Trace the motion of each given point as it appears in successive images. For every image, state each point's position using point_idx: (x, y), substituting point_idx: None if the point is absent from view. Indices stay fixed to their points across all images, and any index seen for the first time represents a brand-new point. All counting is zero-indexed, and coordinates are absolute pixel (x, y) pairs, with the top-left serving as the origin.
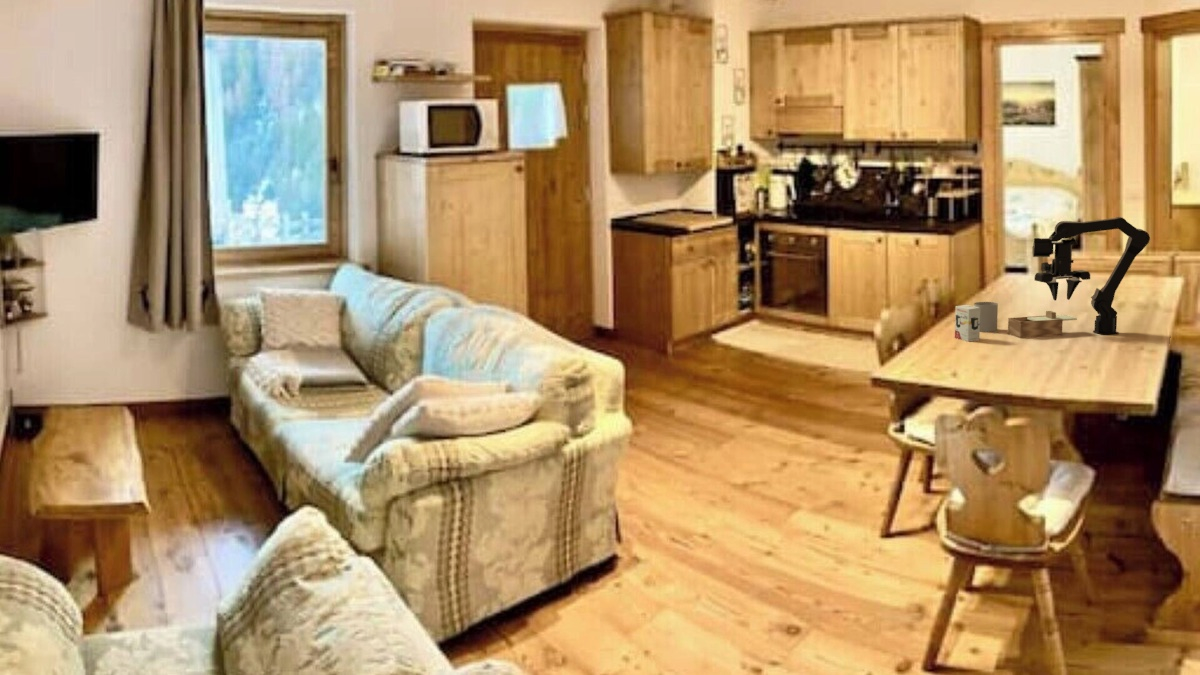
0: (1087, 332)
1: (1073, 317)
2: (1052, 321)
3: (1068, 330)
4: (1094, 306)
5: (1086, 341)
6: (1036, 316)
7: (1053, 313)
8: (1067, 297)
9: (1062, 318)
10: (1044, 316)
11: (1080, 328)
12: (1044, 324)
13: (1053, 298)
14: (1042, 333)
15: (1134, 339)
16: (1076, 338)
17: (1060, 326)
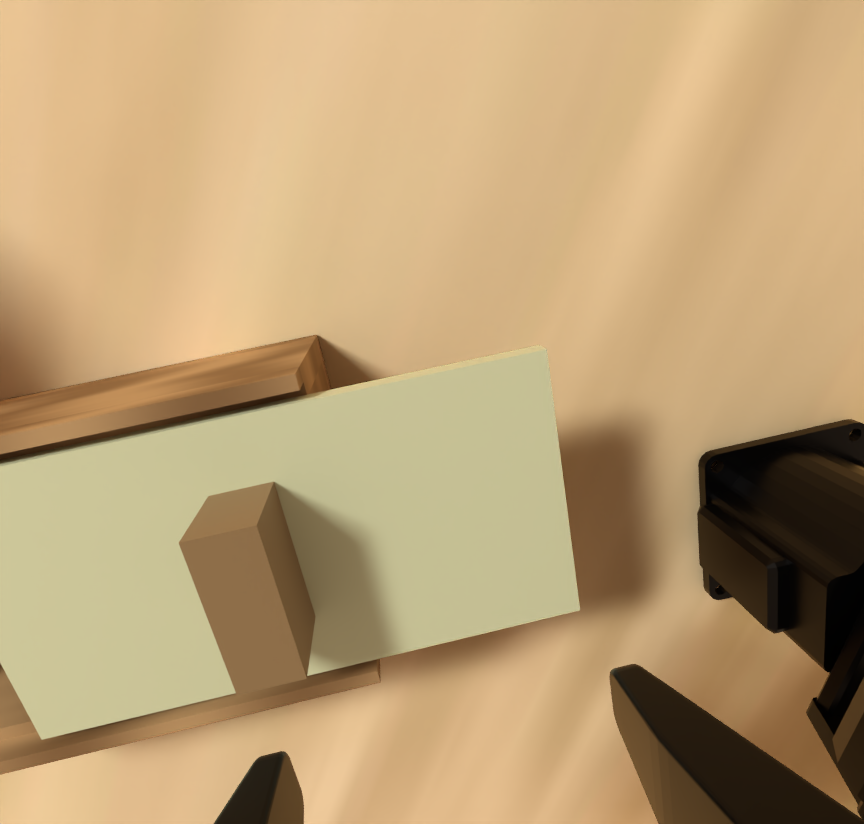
0: (650, 453)
1: (564, 557)
2: (246, 699)
3: (528, 323)
4: (861, 813)
5: (474, 803)
6: (69, 437)
7: (267, 678)
8: (629, 720)
9: (403, 612)
10: (200, 436)
11: (692, 222)
12: None
13: (239, 802)
14: None
15: (819, 747)
16: (446, 699)
17: None
